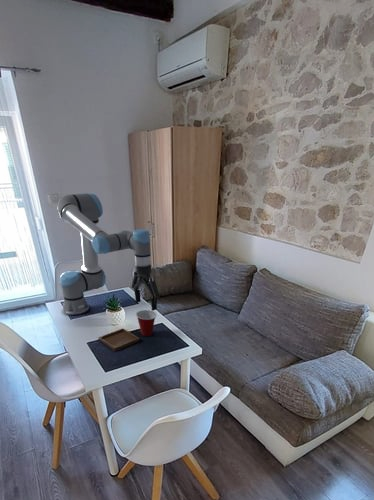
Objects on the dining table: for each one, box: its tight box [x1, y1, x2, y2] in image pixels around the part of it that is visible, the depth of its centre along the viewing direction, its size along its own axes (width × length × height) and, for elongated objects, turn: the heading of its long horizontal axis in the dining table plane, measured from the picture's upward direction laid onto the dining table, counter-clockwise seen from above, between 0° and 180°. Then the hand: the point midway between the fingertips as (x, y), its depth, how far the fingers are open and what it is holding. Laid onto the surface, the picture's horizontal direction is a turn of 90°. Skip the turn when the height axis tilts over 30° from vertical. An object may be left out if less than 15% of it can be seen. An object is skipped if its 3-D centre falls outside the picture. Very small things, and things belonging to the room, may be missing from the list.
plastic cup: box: [135, 309, 158, 337], centre depth 167 cm, size 11×11×12 cm
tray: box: [98, 328, 140, 352], centre depth 163 cm, size 15×15×2 cm
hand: (146, 305), depth 161 cm, fingers open, 13 cm apart
